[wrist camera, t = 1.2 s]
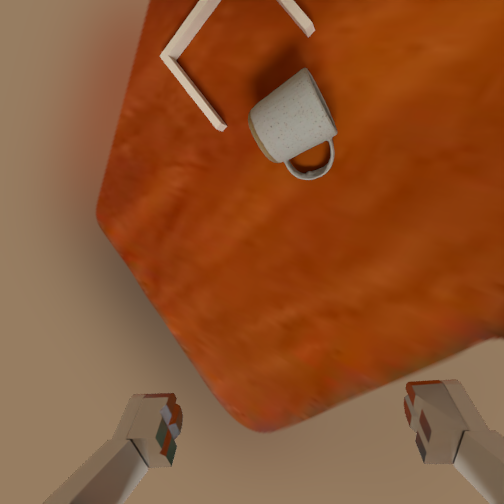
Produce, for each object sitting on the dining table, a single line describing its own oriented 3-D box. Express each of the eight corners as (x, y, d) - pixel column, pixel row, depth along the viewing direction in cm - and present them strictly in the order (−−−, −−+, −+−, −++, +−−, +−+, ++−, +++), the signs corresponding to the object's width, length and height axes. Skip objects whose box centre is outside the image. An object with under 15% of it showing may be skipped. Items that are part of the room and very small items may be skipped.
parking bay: (248, -49, 37) (242, -60, 35) (315, 30, 36) (312, 22, 34) (167, 61, 43) (159, 56, 41) (222, 131, 42) (216, 128, 40)
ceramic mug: (257, 119, 40) (233, 104, 33) (314, 79, 37) (301, 53, 30) (293, 192, 40) (277, 192, 33) (353, 159, 37) (349, 152, 30)
